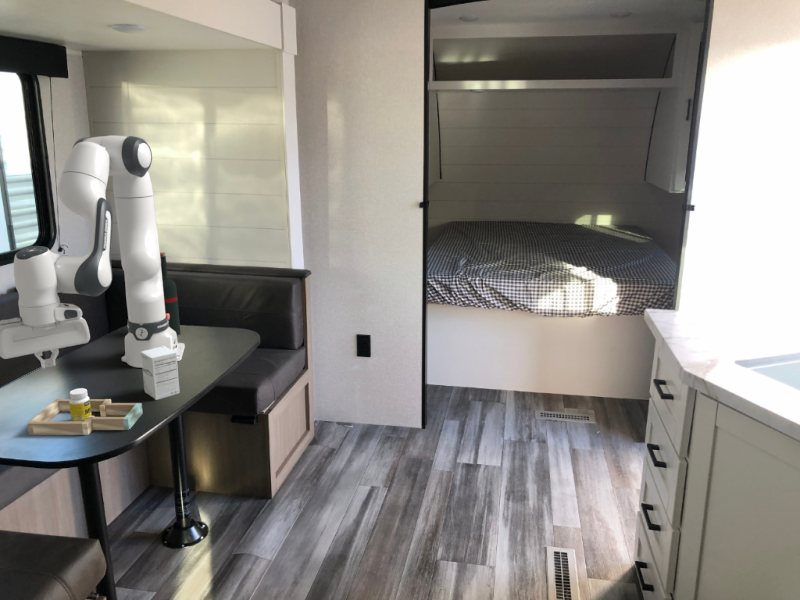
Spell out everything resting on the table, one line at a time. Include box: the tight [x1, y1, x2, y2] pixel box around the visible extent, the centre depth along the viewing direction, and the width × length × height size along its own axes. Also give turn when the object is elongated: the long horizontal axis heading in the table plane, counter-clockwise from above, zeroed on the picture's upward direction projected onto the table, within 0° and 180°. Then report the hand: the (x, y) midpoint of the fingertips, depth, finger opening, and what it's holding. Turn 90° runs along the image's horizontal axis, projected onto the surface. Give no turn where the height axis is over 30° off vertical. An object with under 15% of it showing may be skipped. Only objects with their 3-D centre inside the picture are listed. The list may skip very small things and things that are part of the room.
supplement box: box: [141, 346, 181, 401], centre depth 180 cm, size 7×7×13 cm
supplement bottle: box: [69, 387, 93, 421], centre depth 163 cm, size 5×5×8 cm
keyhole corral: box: [27, 398, 143, 436], centre depth 164 cm, size 14×23×3 cm, turn 92°
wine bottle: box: [160, 252, 181, 336], centre depth 229 cm, size 8×10×30 cm
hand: (48, 366), depth 160 cm, fingers closed
